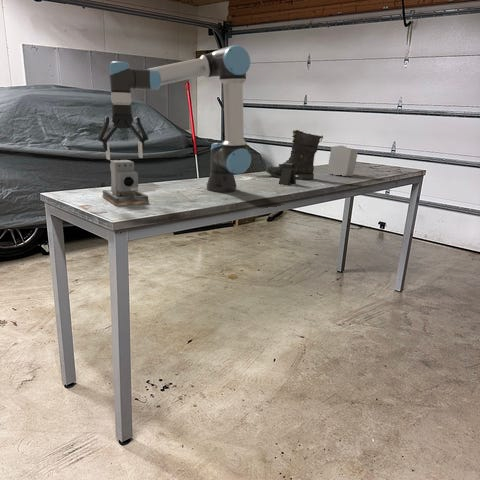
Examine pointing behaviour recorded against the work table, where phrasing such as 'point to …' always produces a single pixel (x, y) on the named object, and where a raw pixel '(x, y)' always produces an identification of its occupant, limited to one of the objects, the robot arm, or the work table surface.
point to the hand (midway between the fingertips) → (124, 158)
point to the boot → (300, 155)
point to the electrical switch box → (342, 161)
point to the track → (125, 199)
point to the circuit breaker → (123, 178)
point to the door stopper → (287, 174)
